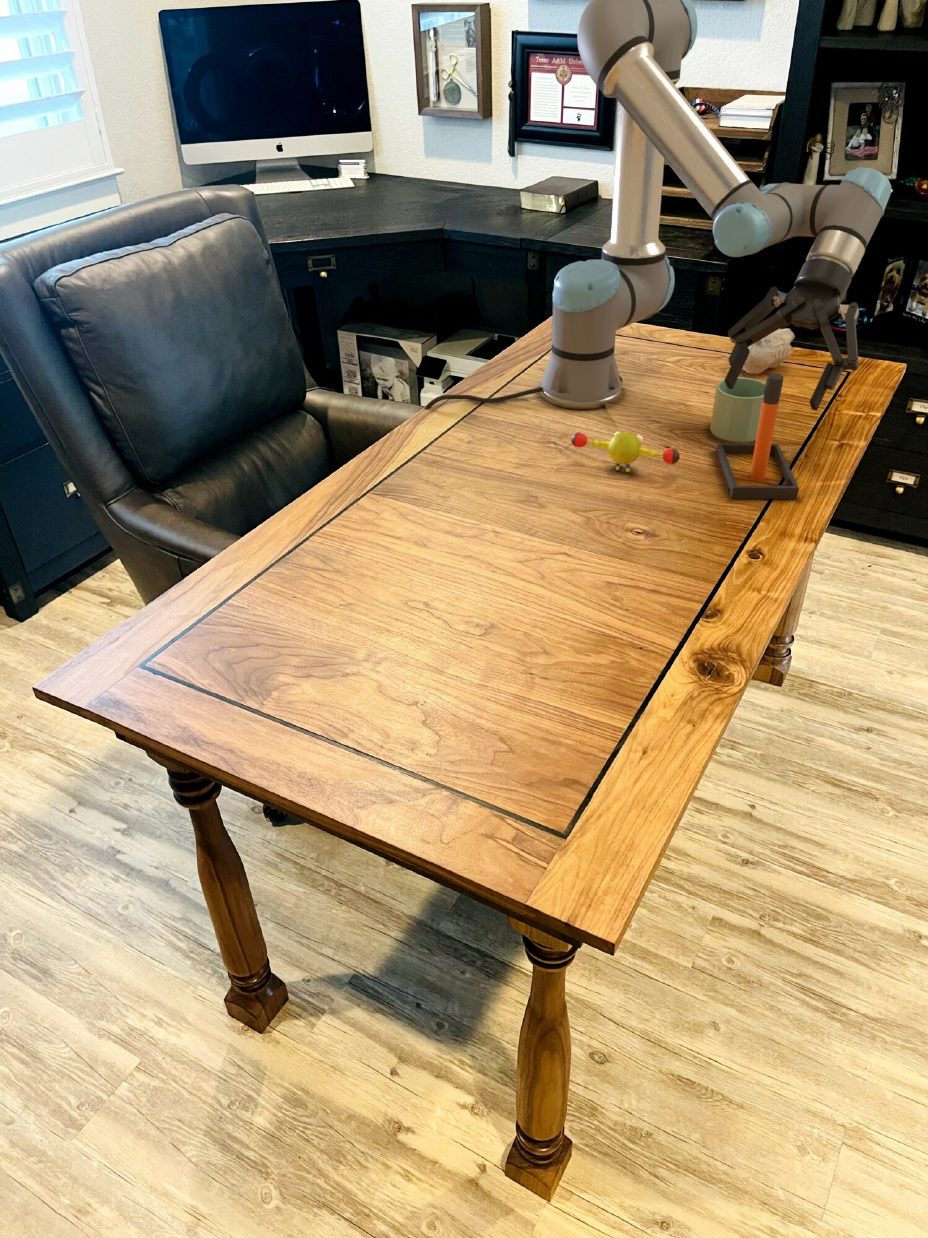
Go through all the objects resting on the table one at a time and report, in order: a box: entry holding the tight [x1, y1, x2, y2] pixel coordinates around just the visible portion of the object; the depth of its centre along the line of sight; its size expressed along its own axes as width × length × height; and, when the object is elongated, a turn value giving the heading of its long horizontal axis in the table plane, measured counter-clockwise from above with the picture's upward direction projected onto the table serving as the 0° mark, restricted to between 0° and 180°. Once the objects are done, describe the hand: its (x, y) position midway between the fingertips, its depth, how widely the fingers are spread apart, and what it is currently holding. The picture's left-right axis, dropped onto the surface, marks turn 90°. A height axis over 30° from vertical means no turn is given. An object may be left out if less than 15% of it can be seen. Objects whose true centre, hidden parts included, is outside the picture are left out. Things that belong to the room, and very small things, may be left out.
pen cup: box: [709, 376, 766, 443], centre depth 166 cm, size 9×9×8 cm
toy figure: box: [570, 431, 681, 474], centre depth 156 cm, size 18×6×7 cm, turn 65°
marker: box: [749, 373, 785, 482], centre depth 149 cm, size 2×2×17 cm
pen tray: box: [716, 443, 800, 500], centre depth 155 cm, size 15×10×2 cm, turn 177°
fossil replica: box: [741, 328, 796, 375], centre depth 189 cm, size 12×8×10 cm
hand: (769, 395), depth 146 cm, fingers open, 13 cm apart
